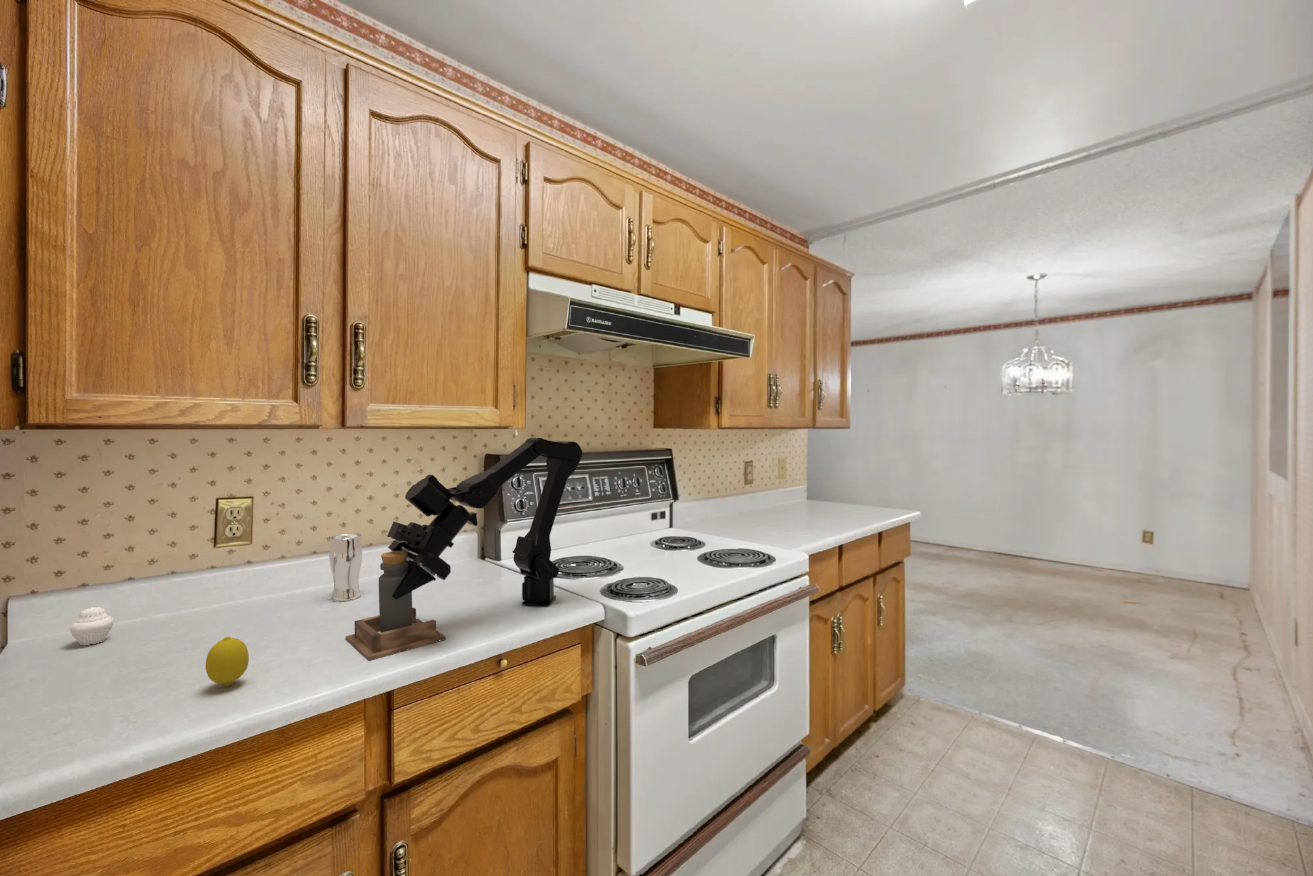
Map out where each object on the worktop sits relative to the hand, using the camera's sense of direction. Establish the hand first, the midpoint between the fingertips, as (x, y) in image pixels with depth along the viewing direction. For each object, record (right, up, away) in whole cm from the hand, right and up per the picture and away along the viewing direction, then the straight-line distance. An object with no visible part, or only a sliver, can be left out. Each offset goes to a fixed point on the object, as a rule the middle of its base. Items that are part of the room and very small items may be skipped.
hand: (388, 594), depth 108 cm
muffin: (-58, -10, 0) cm, 58 cm away
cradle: (+1, -9, +1) cm, 9 cm away
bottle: (+1, -7, +1) cm, 7 cm away
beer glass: (-24, -9, +28) cm, 37 cm away
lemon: (-17, -10, -18) cm, 27 cm away
